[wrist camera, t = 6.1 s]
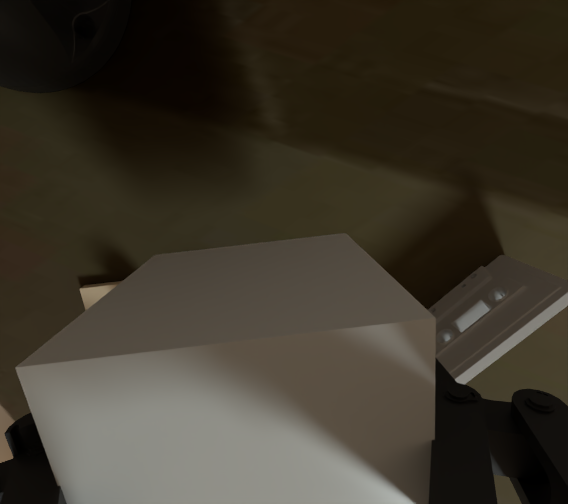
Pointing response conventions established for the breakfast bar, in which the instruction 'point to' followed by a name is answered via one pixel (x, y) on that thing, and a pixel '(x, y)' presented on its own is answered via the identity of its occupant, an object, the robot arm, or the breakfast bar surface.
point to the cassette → (493, 314)
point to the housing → (242, 382)
